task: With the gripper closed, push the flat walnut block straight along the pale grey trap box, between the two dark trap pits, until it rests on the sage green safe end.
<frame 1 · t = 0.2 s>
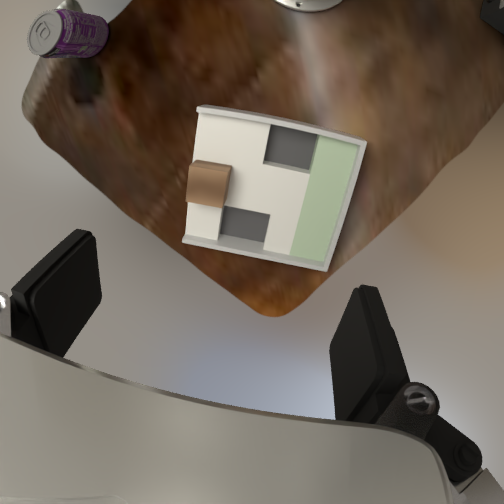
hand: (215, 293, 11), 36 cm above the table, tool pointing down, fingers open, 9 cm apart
walnut block: (211, 179, 44), point 2 cm above the table, touching trap box
beverage can: (92, 36, 36), on the table
trap box: (269, 184, 46), on the table
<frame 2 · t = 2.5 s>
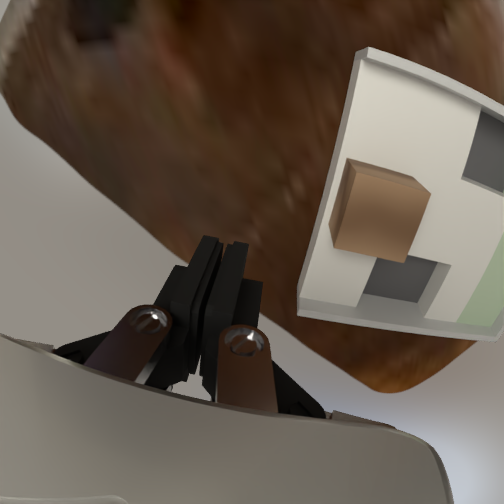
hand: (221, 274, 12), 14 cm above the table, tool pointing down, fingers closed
walnut block: (370, 200, 21), point 2 cm above the table, touching trap box
trap box: (447, 212, 23), on the table
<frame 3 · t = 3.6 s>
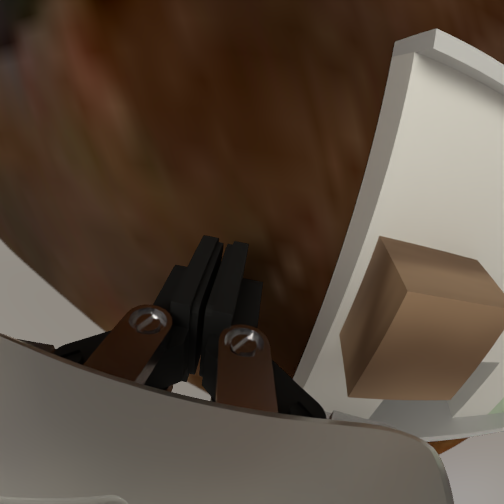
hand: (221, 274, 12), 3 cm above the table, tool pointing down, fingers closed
walnut block: (410, 299, 13), point 2 cm above the table, touching trap box
trap box: (502, 290, 15), on the table
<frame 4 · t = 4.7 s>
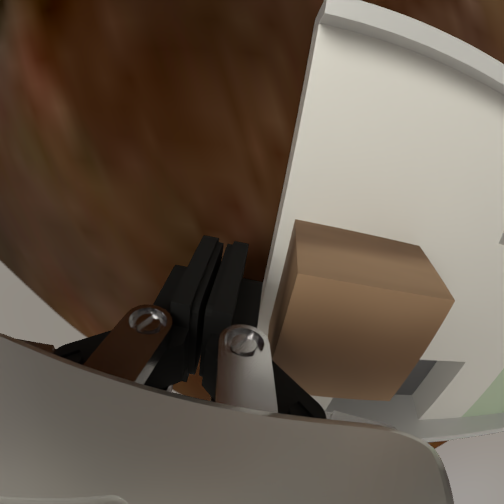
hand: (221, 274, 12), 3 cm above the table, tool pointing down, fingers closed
walnut block: (342, 288, 12), point 3 cm above the table, touching gripper
trap box: (467, 283, 15), on the table
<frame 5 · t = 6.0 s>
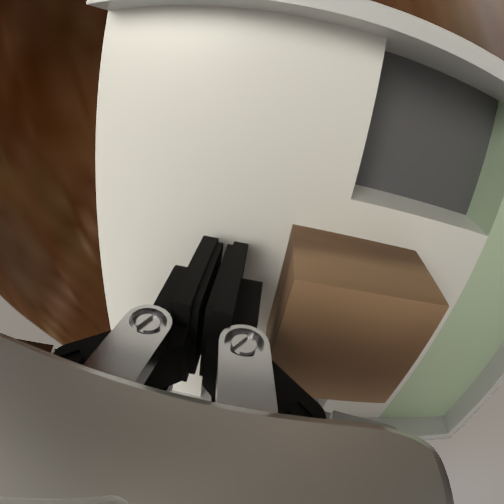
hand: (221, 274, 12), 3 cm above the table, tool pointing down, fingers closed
walnut block: (338, 292, 13), point 3 cm above the table, touching gripper
trap box: (350, 256, 15), on the table
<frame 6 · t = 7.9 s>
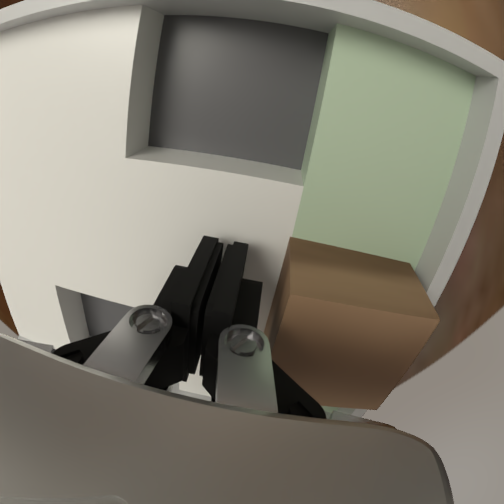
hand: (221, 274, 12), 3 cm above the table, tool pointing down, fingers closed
walnut block: (333, 301, 13), point 3 cm above the table, touching gripper, trap box
trap box: (177, 222, 15), on the table
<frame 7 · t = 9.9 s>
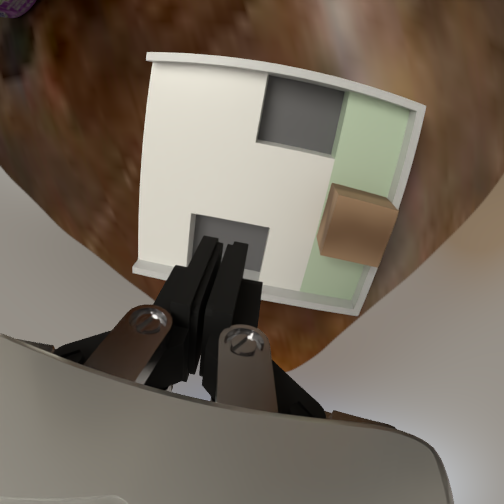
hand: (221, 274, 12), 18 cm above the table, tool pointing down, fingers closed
walnut block: (351, 217, 27), point 2 cm above the table, touching trap box
trap box: (267, 179, 29), on the table
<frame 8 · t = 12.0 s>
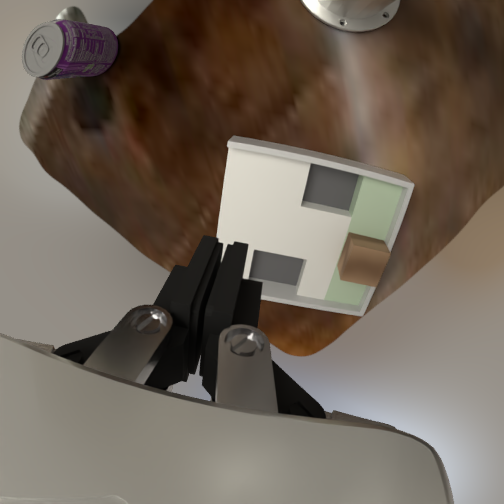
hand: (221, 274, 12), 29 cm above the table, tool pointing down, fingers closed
walnut block: (360, 253, 41), point 2 cm above the table, touching trap box
beverage can: (98, 51, 33), on the table
trap box: (305, 226, 42), on the table
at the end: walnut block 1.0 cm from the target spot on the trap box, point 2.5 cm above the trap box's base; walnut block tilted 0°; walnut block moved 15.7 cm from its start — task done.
